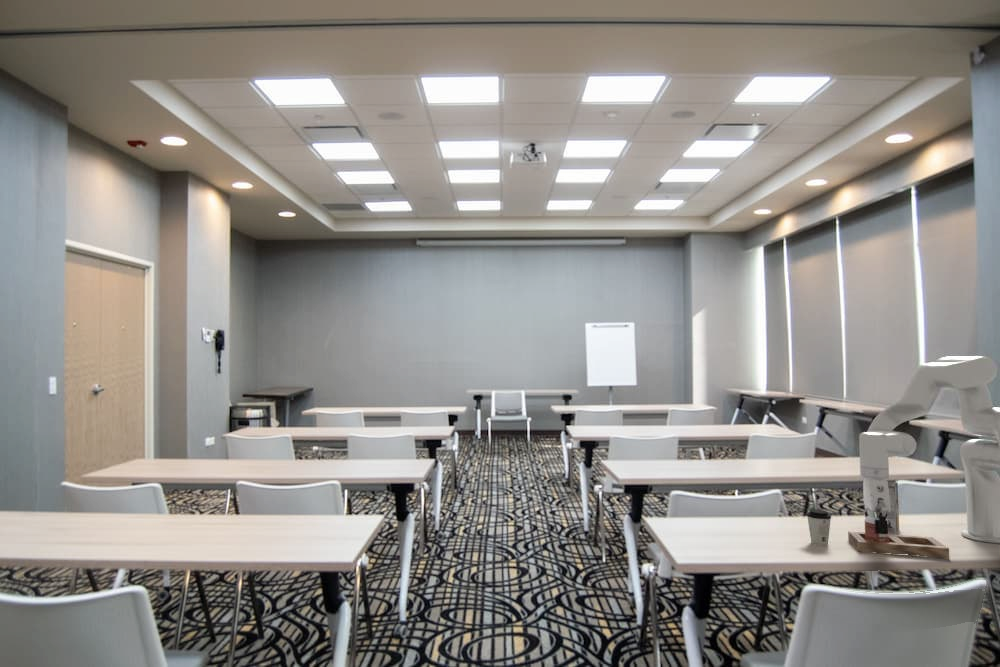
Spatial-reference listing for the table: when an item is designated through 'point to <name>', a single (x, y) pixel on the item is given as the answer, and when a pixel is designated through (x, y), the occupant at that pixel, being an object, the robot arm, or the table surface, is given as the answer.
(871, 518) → the pill bottle
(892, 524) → the coffee box
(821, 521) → the coffee cup
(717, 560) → the table surface
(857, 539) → the holder frame
